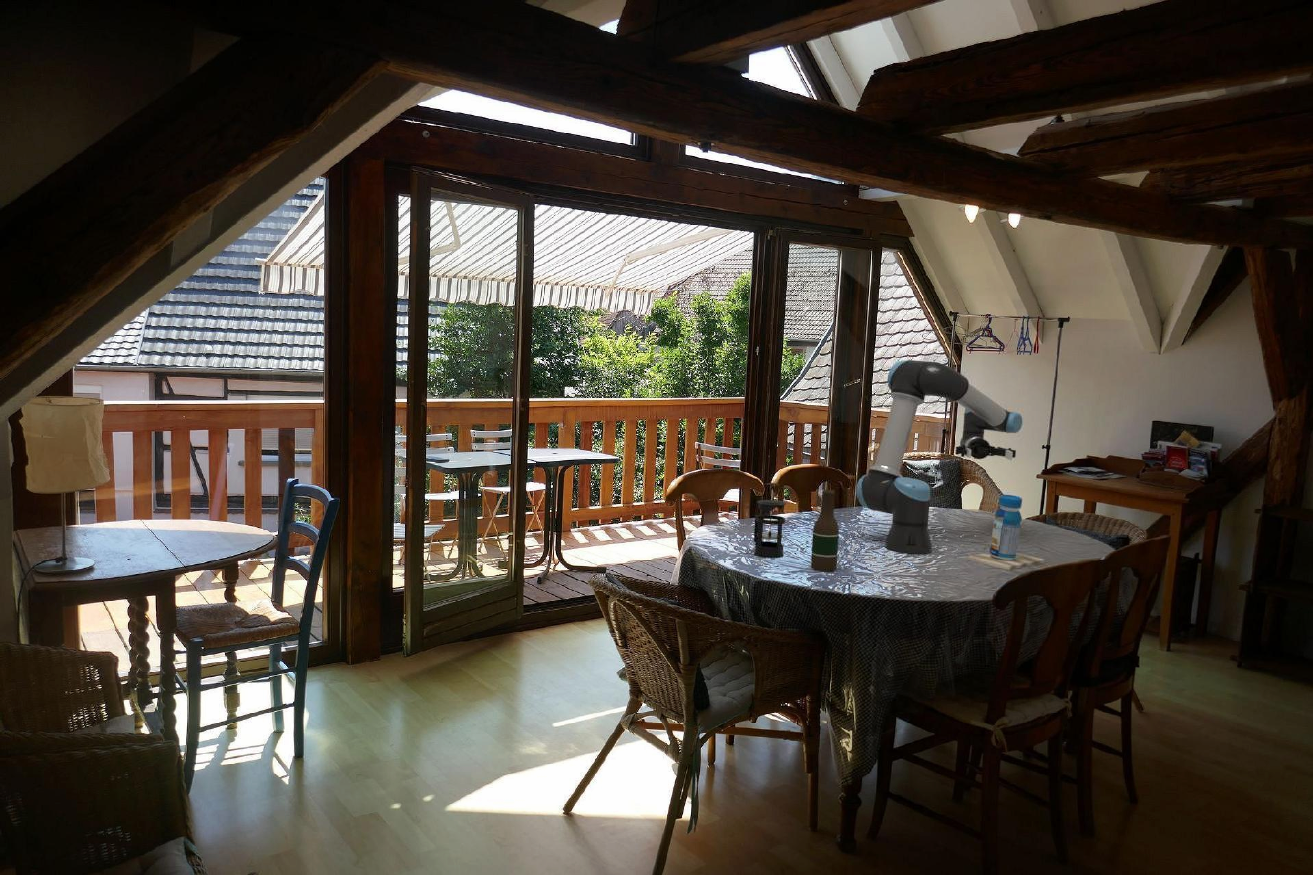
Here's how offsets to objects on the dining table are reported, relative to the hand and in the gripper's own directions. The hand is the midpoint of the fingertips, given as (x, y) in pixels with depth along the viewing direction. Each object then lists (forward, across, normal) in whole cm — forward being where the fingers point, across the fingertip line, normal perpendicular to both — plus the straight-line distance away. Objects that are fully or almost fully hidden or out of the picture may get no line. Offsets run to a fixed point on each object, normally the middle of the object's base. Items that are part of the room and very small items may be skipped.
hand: (990, 454), depth 326 cm
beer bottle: (+49, +57, -32) cm, 81 cm away
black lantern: (+35, +74, -32) cm, 88 cm away
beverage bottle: (+21, -2, -31) cm, 37 cm away
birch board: (+21, -3, -32) cm, 38 cm away
